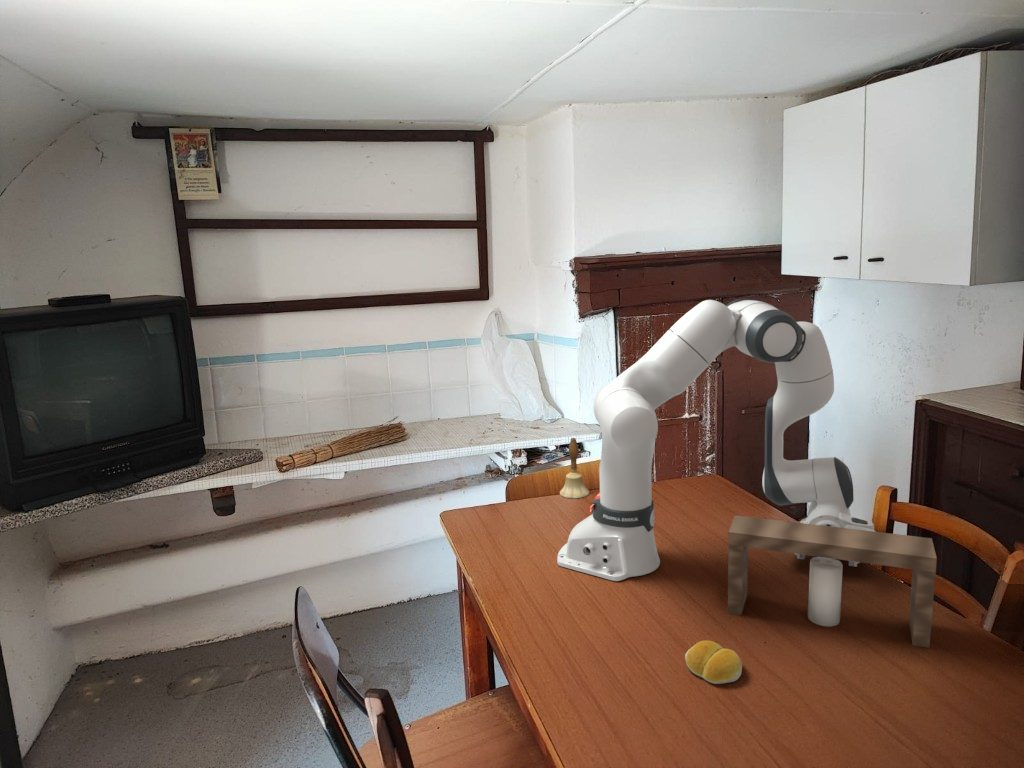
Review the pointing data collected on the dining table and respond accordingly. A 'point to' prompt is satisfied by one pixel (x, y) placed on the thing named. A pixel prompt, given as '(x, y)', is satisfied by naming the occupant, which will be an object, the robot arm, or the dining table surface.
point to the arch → (837, 546)
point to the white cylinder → (825, 591)
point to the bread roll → (714, 662)
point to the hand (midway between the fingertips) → (826, 559)
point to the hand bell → (574, 476)
